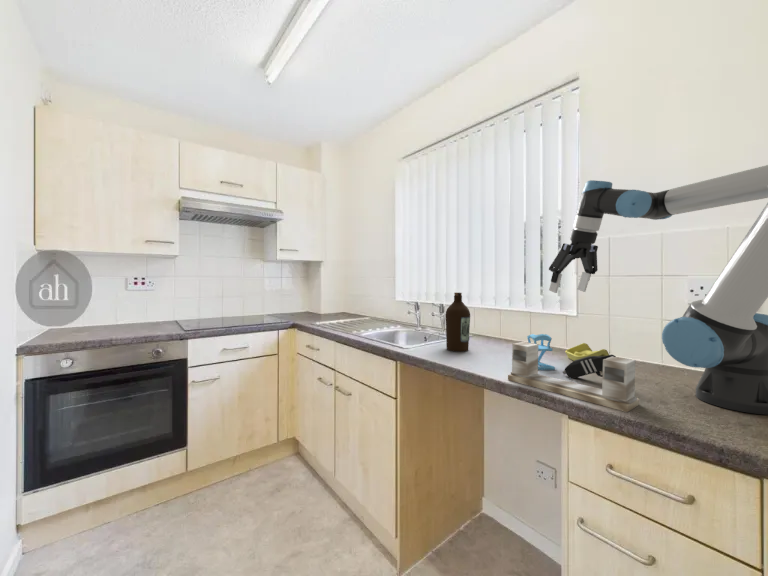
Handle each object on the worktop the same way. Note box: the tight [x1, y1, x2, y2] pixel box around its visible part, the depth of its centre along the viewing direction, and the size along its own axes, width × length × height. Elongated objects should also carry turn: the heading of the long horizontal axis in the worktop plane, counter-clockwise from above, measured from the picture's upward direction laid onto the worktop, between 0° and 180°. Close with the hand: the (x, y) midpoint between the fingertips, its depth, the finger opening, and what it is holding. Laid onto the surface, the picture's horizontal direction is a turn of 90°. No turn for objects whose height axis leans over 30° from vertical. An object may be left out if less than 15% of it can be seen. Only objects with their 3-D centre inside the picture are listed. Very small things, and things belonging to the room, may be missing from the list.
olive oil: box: [445, 292, 471, 353], centre depth 146 cm, size 11×11×25 cm
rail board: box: [507, 341, 640, 413], centre depth 92 cm, size 31×8×11 cm, turn 37°
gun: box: [562, 354, 617, 380], centre depth 101 cm, size 3×16×10 cm, turn 37°
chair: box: [526, 333, 556, 371], centre depth 118 cm, size 8×8×12 cm
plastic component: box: [565, 342, 610, 362], centre depth 123 cm, size 20×7×10 cm
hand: (567, 291), depth 116 cm, fingers open, 13 cm apart
